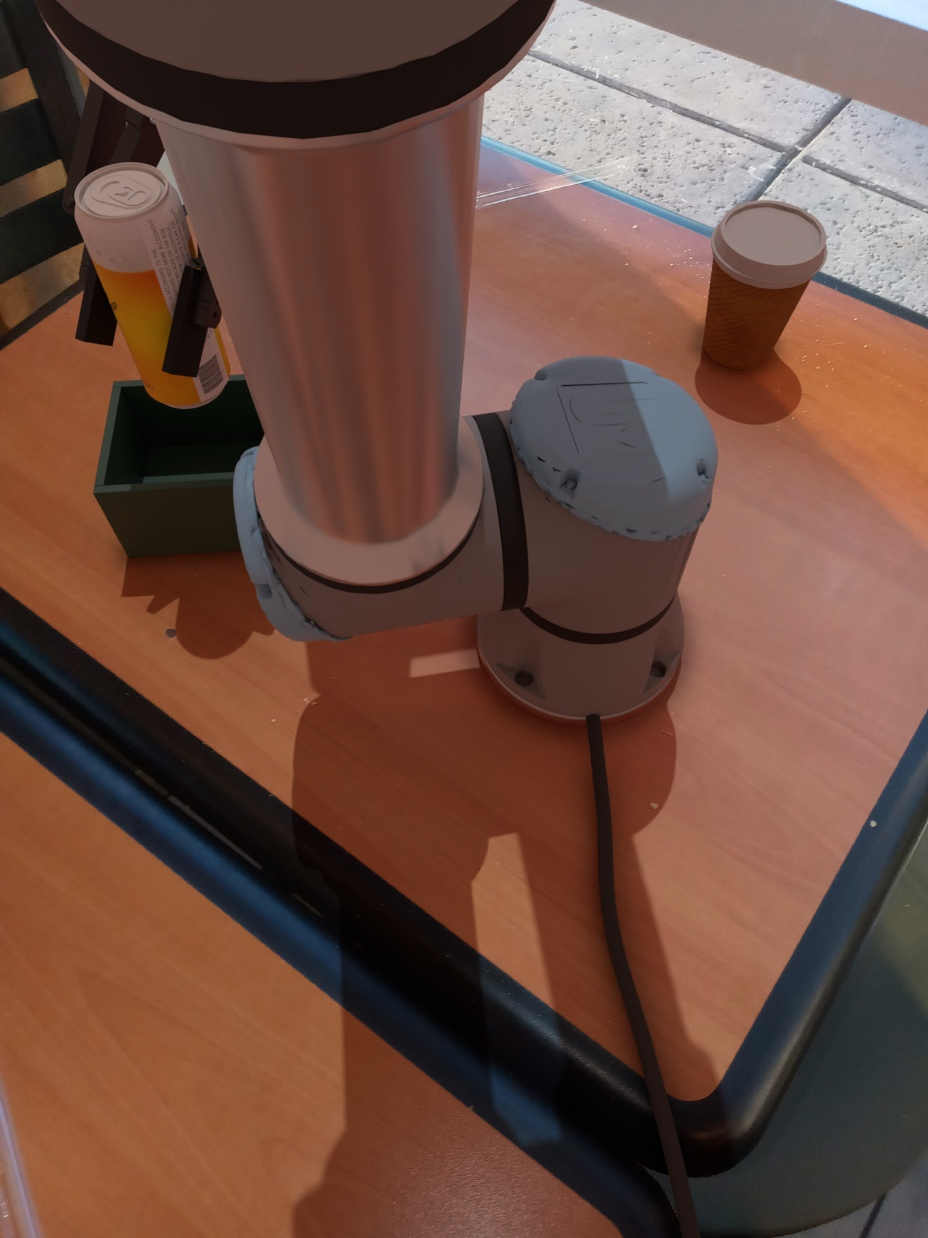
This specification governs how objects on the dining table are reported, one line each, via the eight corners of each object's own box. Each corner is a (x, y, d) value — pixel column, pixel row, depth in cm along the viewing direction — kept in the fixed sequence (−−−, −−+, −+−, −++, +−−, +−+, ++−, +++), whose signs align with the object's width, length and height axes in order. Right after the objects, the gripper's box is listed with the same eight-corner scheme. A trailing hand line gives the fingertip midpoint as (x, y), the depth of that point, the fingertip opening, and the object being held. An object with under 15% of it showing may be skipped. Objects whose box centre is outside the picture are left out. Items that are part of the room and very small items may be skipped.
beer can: (183, 342, 67) (115, 146, 54) (250, 371, 65) (196, 176, 53) (129, 394, 64) (44, 201, 51) (197, 426, 63) (127, 234, 50)
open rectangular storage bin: (321, 546, 73) (306, 480, 66) (127, 557, 72) (92, 493, 65) (323, 439, 79) (309, 369, 72) (144, 450, 78) (113, 380, 71)
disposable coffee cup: (810, 354, 84) (857, 240, 74) (734, 397, 81) (772, 284, 71) (738, 298, 88) (774, 182, 78) (663, 336, 85) (690, 222, 75)
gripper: (389, 24, 54) (290, 407, 60) (127, -41, 58) (61, 322, 64) (332, -39, 47) (227, 401, 53) (39, -108, 51) (-26, 306, 57)
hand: (136, 357), depth 59 cm, fingers closed on beer can, 6 cm apart
